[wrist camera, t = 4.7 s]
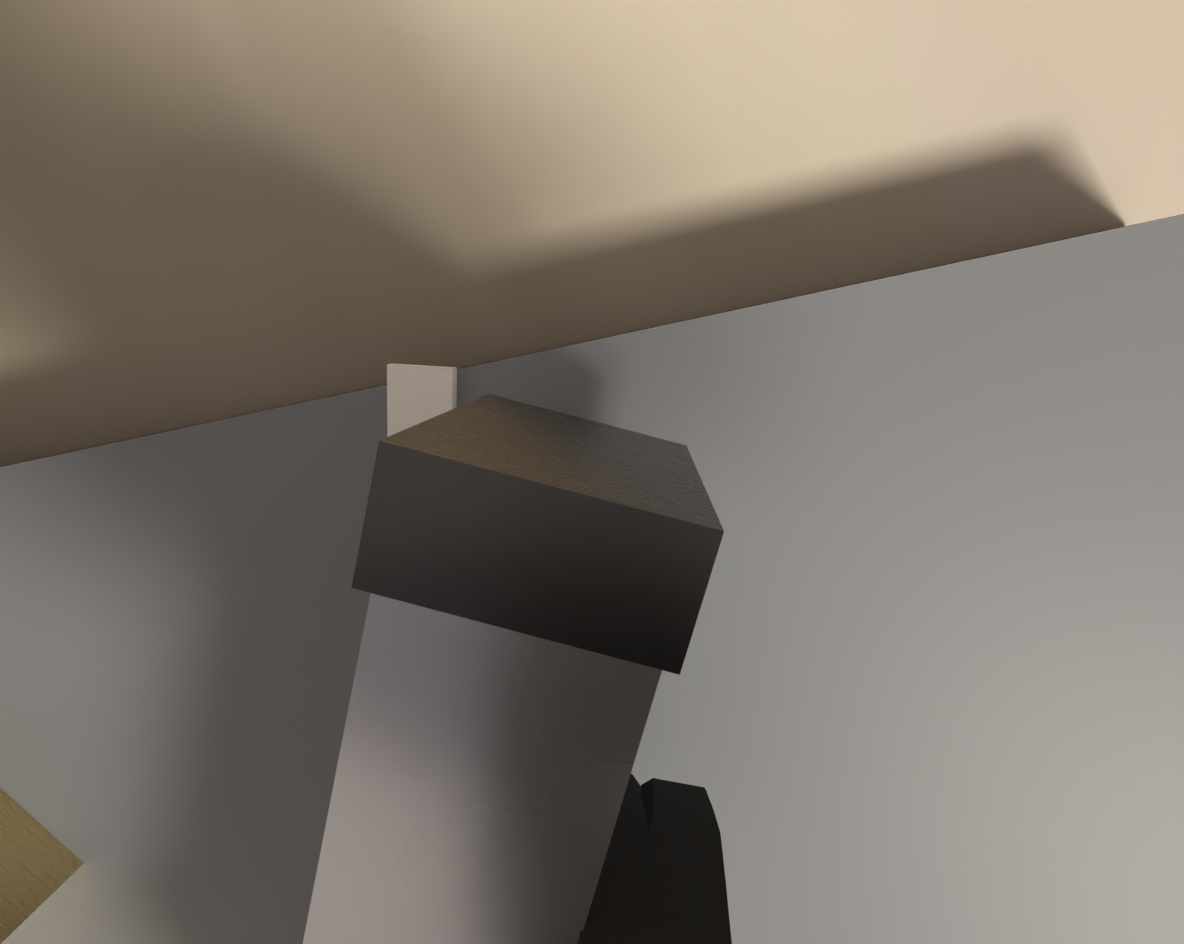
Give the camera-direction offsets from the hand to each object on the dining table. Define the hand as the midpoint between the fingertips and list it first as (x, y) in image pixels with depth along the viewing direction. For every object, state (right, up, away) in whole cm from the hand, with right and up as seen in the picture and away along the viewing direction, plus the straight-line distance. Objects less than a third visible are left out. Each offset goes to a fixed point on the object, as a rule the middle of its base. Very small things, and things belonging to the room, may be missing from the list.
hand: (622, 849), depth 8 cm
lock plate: (-2, -3, +4) cm, 5 cm away
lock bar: (-2, -1, +1) cm, 2 cm away
